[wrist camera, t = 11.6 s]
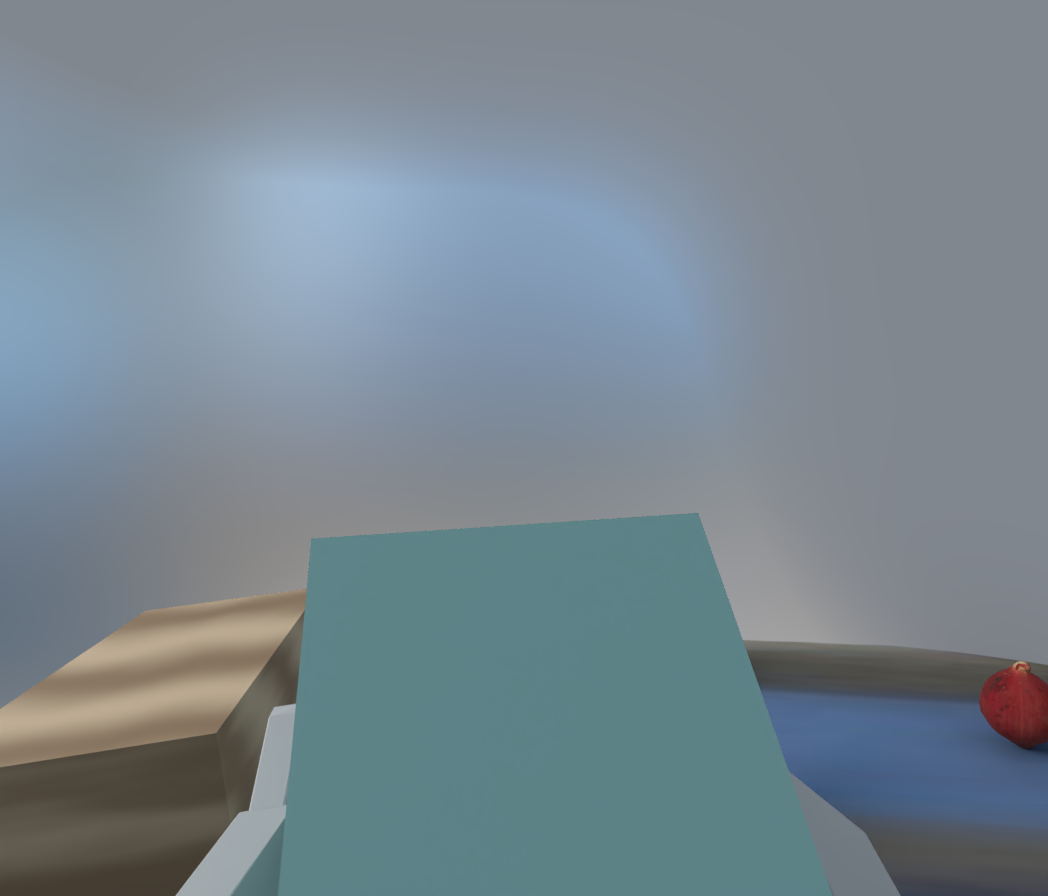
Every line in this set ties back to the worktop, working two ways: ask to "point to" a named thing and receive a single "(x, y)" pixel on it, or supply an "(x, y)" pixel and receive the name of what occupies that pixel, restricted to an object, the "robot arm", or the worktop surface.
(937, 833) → the worktop surface
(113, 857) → the oak stand
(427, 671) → the teal block
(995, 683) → the red pomegranate
